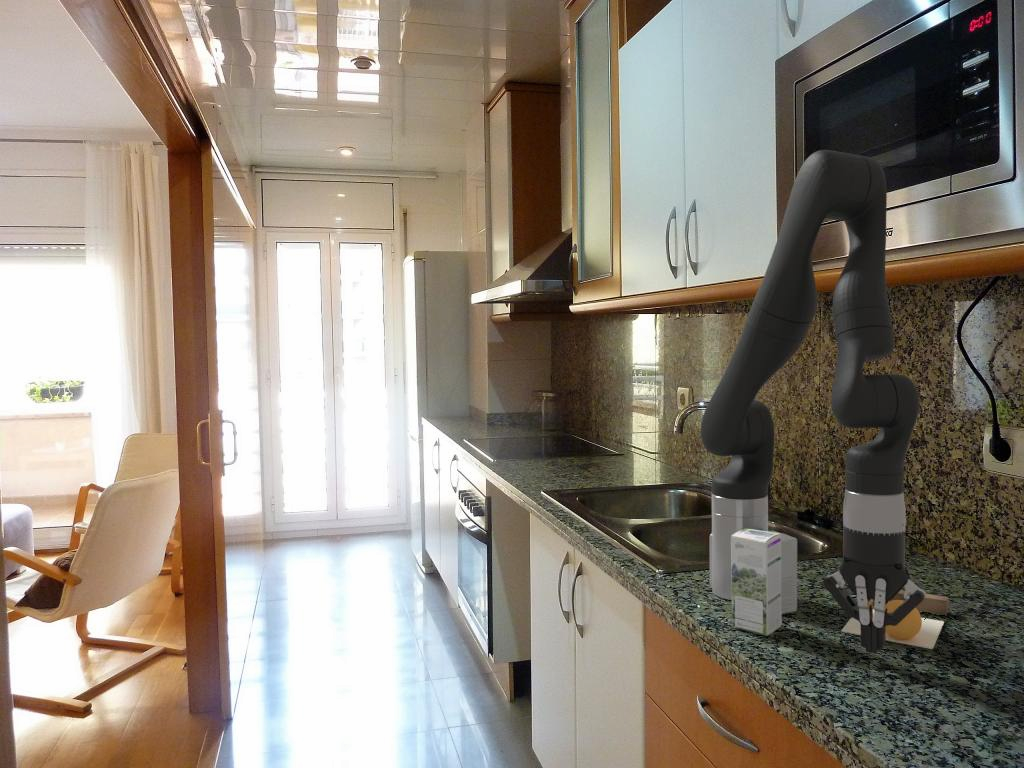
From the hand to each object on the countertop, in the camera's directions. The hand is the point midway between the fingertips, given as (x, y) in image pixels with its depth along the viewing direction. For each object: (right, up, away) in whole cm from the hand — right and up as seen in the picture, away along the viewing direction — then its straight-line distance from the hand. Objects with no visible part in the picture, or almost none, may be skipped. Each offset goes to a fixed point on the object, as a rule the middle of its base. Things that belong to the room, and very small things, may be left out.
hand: (873, 651), depth 104 cm
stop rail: (+15, 0, +20) cm, 25 cm away
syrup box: (-11, -1, +13) cm, 18 cm away
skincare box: (-6, -1, +22) cm, 22 cm away
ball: (+8, +2, +8) cm, 11 cm away
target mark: (+9, -1, +12) cm, 15 cm away
